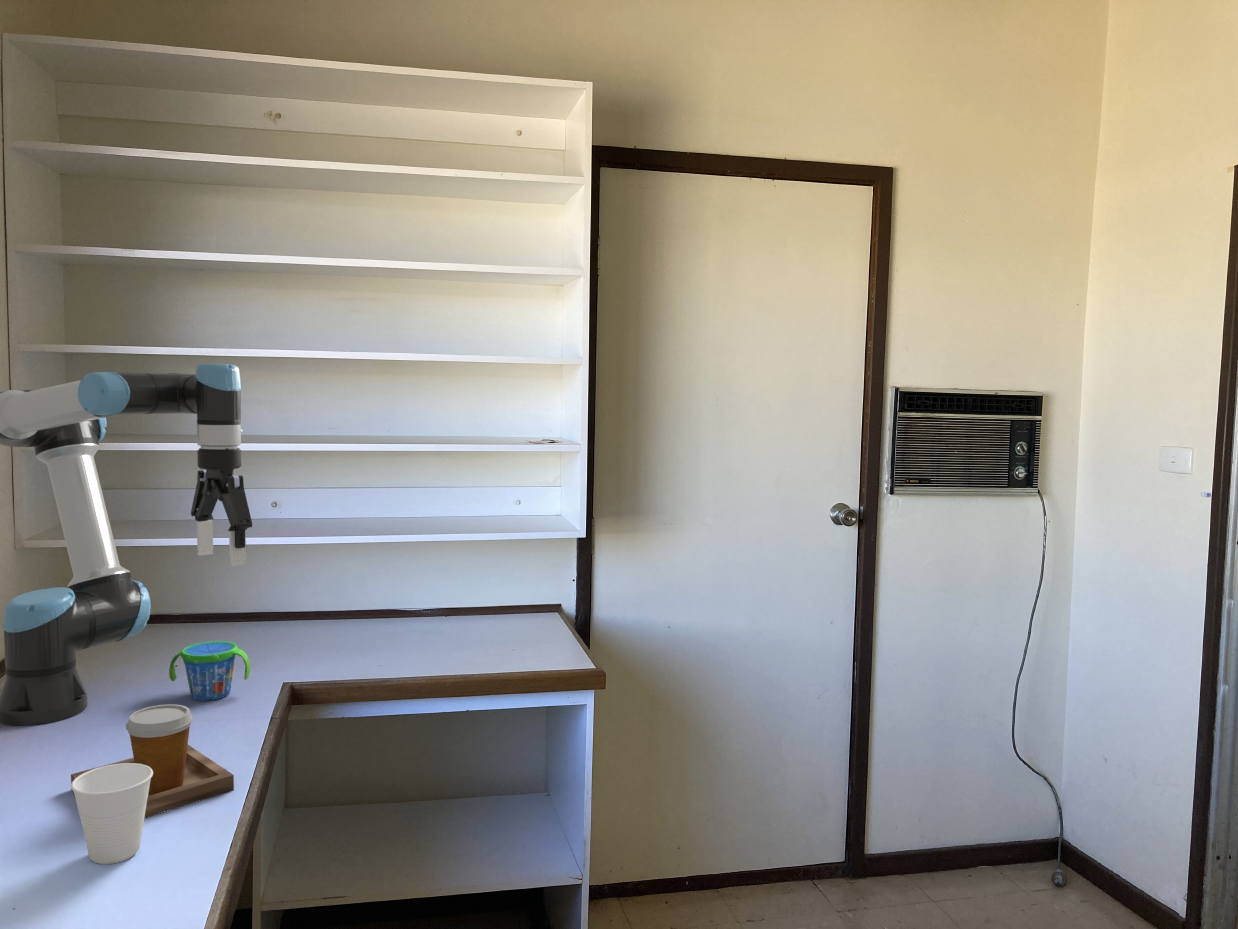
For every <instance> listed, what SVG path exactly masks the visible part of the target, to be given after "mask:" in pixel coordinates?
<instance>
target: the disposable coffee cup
mask: <svg viewBox="0 0 1238 929" xmlns="http://www.w3.org/2000/svg"><path fill="white" fill-rule="evenodd" d="M193 720H194V715H193V714H192V713H191V709H190V708H189V707H188V706H186V705H182V704H173V703H172V704H171V703H169V704H158V705H152V706H147V707H144V708H141V709H138V710H136V711H134V712H133V713H131V714H130V715H129V717H128V720H127V723H125V729H126V730H127V733H128V734H129V738H130V743H131V744H130V745H131V750H132V758H134V763H137V764H143V765H146V766H149V767H150V768H151V769H152V770H153V776H152V777H151V779H150V786H149V792H148V795H149V796H151V795H154V794H157V793H161V792H164V791H167V790H171V789H174V788H177V787H180V786H183V781H184V773H185V764H186V755H187V746H188V745H189V737H190V727H191V725H192V722H193Z"/></svg>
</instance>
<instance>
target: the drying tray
mask: <svg viewBox="0 0 1238 929" xmlns="http://www.w3.org/2000/svg"><path fill="white" fill-rule="evenodd" d="M121 763H134V757H131V758H127V759H124V760H120V761H116V762H112V763H108V764H105V765H101V766H97V767H93V768H90V769H86V770H83V771H78V772H75V773H71V774H70V781H71V782H70V785H71V784H72V782H73V781H74V779H75V778H77V777H78V776H80V775H81V774H83V773H85V772H88V771H90V770H93V769H96V768H99V767H103V766H107V765H113V764H121ZM234 777H235V775H234V774H233V773H232V772H230V771H228V770H227V769H226V768H224V767H223V766H221V765H219V764H218V763H217V762H215V761H213V760H212V759H210V758H209V757H207V756H205V755H204V754H203V753H202V752H200V751H198V750H196V749H195V748H194V747H192V746H191V745H189V744H188V746H187V755H186V764H185V773H184V781H183V786H180V787H177V788H174V789H171V790H167V791H164V792H161V793H157V794H154V795H151V796H149V795H148V798H147V804H146V810H145V817H147V818H149V817H148V816H150V817H152V815H153V816H155V815H154V814H156V815H159V814H161V812H162V813H165V812H164V811H166V812H168V811H167V810H169V811H171V810H175V809H179V808H181V807H184V805H185V806H187V804H188V805H191V804H193V802H194V803H197V802H200V801H203V800H202V799H204V800H206V798H207V799H209V798H212V797H215V796H218V795H219V796H220V795H222V794H225V793H229V792H231V791H234V790H235V780H234V779H235V778H234ZM70 789H71V788H70ZM71 791H72V792H73V793H74V791H73V790H72V789H71ZM199 800H200V801H199ZM196 801H197V802H196ZM190 803H191V804H190ZM158 813H159V814H158ZM145 817H144V819H146V818H145Z"/></svg>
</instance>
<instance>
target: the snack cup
mask: <svg viewBox="0 0 1238 929" xmlns="http://www.w3.org/2000/svg"><path fill="white" fill-rule="evenodd" d="M236 655H237V656H239V657H241V658H242V660H243V662H244V666H245V668H244V676H243V677H244V678H243V680H245V681H246V680H247V679H248V678H249V677H250V673H251V663H250V658H249V657H248V655H247V653H246V652H245V651H244V650H243V649H240V648H238V646H237V644H236V643H235V642H232V641H227V640H226V641H224V640H223V641H222V640H216V641H215V640H214V641H204V642H198V643H194V644H191V645H188V646H185V647H184V648H183V649H182V650H180V651H179V652H177V653H176V654H175V655H174V657H172V659H171V661H170V662H169V669H168V670H169V672H168V674H169V678H170V681H172V682H174V681H176V679H177V674H176V667H175V662H176V661H177V660H178V658H179V657H181V659H182V660H183V663H184V666H185V673H186V677H187V678H186V679H187V683H188V687H189V693H190V696H191V698H193V699H195V700H196V701H210V700H218V699H221V698H224V697H227V695H228V696H229V695H230V694H231V690H232V689H231V688H232V682H233V675H234V668H235V660H236Z"/></svg>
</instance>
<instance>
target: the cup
mask: <svg viewBox="0 0 1238 929" xmlns="http://www.w3.org/2000/svg"><path fill="white" fill-rule="evenodd" d="M106 765H107V766H104V765H102V766H103V767H100V766H98V767H99V768H97V767H95V768H96V769H93V768H92V769H93V770H90V771H88V772H85V773H83V774H81V775H80V776H78V777H77V778H75V779H74V781H73V782H72V784H71V783H70V789H72V790H73V791H74V792H73V791H72V790H71V791H72V792H73V793H74V798H75V801H76V802H75V803H76V806H77V807H76V808H77V811H78V814H79V818H80V823H81V826H82V832H83V835H84V840H85V844H86V848H87V853H88V857H89V859H90V860H91V861H92V862H93V863H95V864H99V865H113V864H117V863H121V862H124V861H126V860H128V859H131V858H132V857H133V856H134V855H136V853H137V852H139V850H140V847H141V842H142V835H143V831H144V830H143V828H144V823H145V822H144V821H145V818H144V817H145V810H146V804H147V798H148V792H149V786H150V779H151V777H152V776H153V770H152V769H151V768H150V767H149V766H146V765H143V764H137V763H121V764H113V765H108V764H106Z"/></svg>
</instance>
